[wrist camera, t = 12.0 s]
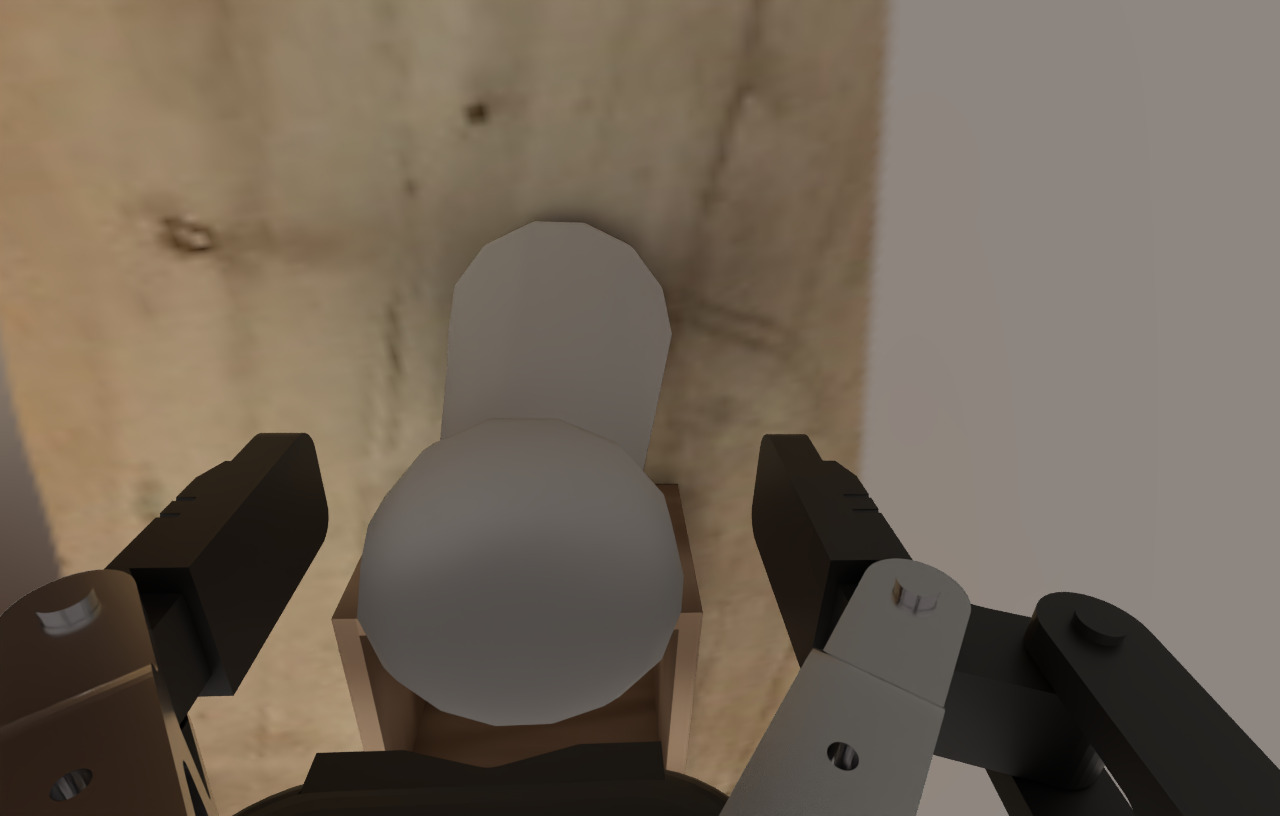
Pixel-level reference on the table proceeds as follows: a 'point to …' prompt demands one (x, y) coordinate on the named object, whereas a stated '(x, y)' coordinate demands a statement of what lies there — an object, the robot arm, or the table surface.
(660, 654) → the salt shaker
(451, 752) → the box
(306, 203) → the table surface
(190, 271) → the table surface
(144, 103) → the table surface
